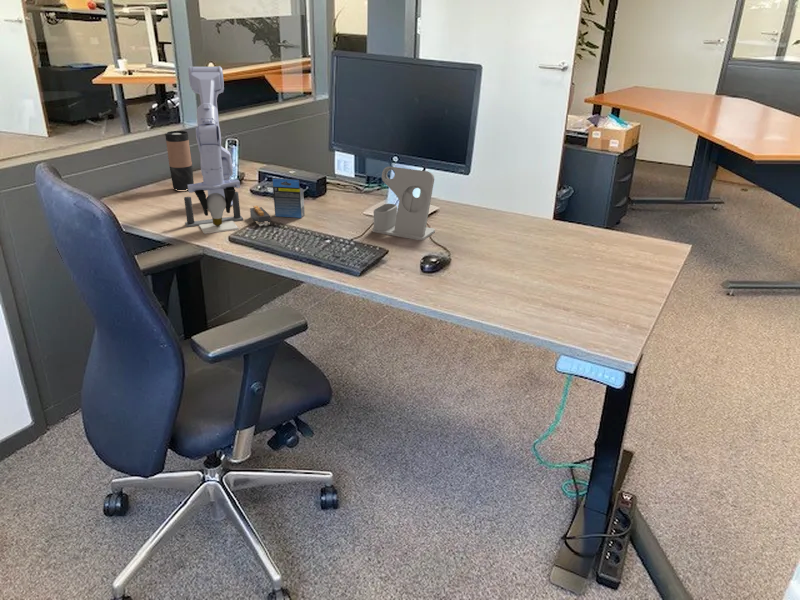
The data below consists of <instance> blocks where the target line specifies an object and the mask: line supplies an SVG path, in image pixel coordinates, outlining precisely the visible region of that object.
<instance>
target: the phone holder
mask: <svg viewBox="0 0 800 600" xmlns="http://www.w3.org/2000/svg"><path fill="white" fill-rule="evenodd" d="M389 171H393V172H394V175H393V177H392V178H389V177H388V173H389ZM381 180H382V182H383V183H384V184H386V186H387V187H388V188H389V189H390V190H391V191H392V192H393V194H394V195H396V197H397V198H398V206H397V204H395V203H385V204H382V205H380V206H378V207H376V208H374V209H373V228H372V229H371V230H372V232H373V233H377V234H383V235H388V236H393V237H399V238H405V239H411V240H415V241H416V240H417V241H424V240H426V239H427V238H429V237H430V236H431V235H433V234H434V233H435V231H436V229H435V228H433V227H427V224H428V218H429V213H430V208H431V207H430V206H431V201H432V195H433V190H434V189H433V188H434V183H435V175H434V174H433V173H432V172H430V171H427V170H421V169H420V170H419V169H412V168H411V169H410V168H404V167H395V166H386V167H385V168H383V170H382V172H381ZM415 189H419V190H420V195H419V196H418V197H415V196H414V194H413V192H414V190H415Z"/></svg>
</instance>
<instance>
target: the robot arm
mask: <svg viewBox="0 0 800 600" xmlns="http://www.w3.org/2000/svg"><path fill="white" fill-rule="evenodd" d="M187 70H188V71H187V72H188V81H189V86H190V88H191V90H192V91H193V93H194V94H197V95H199V100H200V104H199V106H197V110H196V116H197V117H196V120H197V122H196V123H197V126H196V127H195V138H196V139H195V140H196V144H197V147H198V153H199V157H200V162H199V163H200V171H201V176H202V180H203V182H197V183H194V184H189V185H188V191H187V192H188V193H190V194H193V193H194V194H195V195H196V197H197V199H198V201H199V202H200V203H199V204H200V205H201V208H202V211H203V214H204V216H206V217H207V216H209V210H208V209H207V204H206V198H207V197H208V196H209V195H210V194H212V193H219V194H221V195H222V196H224V198H225V200H226V208H225V211H226V213H227V214H230V213H231V206H233V203H232V199H233V196H234V194H235V192H236V189H240V188H241V182H240V180H239V179H230V177H232V175H233V174H234V172H233V171H234V170H233V169H234V168H233V159H232V154H231V152H230V150H228V149H226V148H225V147H223V146H222V133H221V128H220V119H219V110H218V102H217V101H218V96H219V94H221V93H222V94H223V93H224V90H225V87H224V86H225V83H224V82H225V81H224V71H223V67H221V65H218V66H193V65H190V66H189V67H188V69H187ZM235 188H236V189H235ZM205 191H206V192H207V194H206V192H205Z"/></svg>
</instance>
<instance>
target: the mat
mask: <svg viewBox="0 0 800 600" xmlns="http://www.w3.org/2000/svg"><path fill="white" fill-rule="evenodd" d="M199 228H200V229H201V231H202V233H203V234H204V235H206V234H212V233H213V234H214V233H220V232H230V231H235V230H236V231H237V230H239V226H237V224H236V222H235V221H225V222H222V224H221V225H220V226H216V225H214V224H213V223H209V224H201V225H199Z"/></svg>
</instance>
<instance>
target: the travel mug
mask: <svg viewBox="0 0 800 600" xmlns="http://www.w3.org/2000/svg"><path fill="white" fill-rule="evenodd" d="M164 135H165V144H166V150H167V151H166V152H167V157H168V166H169V172H170V178H171V182H172V188H174V189H177V190H186V189H188V185H189V184H195V182H194V174H193V162H192V161H193V160H192V156H191V155H192V154H191V149H190V148H191V147H190V140H189V132H188V131H186V130H185V131H184V130H170V131H167V132H166V133H165V134H164ZM174 189H173V190H174Z"/></svg>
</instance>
